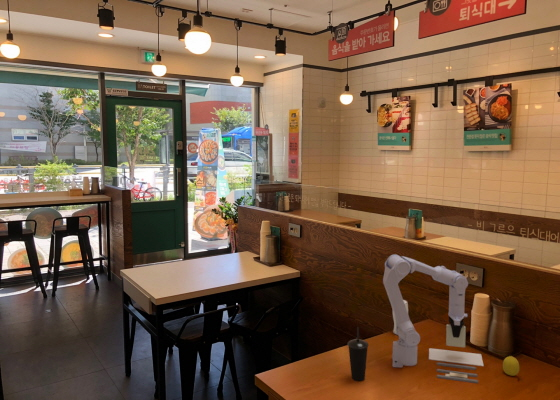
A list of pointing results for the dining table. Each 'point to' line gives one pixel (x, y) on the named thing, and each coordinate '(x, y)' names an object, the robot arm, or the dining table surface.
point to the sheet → (453, 340)
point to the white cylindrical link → (395, 318)
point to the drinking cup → (358, 357)
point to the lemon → (511, 366)
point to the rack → (456, 372)
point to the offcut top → (458, 375)
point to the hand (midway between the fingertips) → (455, 335)
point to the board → (455, 357)
